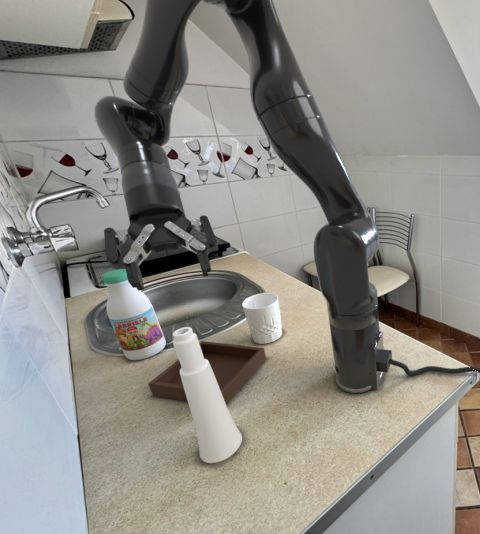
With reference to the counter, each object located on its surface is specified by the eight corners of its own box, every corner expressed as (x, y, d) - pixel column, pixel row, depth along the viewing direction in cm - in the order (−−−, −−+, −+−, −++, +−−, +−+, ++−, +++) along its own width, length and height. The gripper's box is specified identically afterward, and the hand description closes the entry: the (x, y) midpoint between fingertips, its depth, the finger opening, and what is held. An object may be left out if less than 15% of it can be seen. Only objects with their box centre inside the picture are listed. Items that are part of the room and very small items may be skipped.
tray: (266, 359, 71) (263, 347, 70) (224, 407, 59) (220, 394, 58) (205, 352, 74) (202, 340, 73) (153, 396, 62) (147, 383, 61)
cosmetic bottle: (208, 433, 54) (167, 321, 45) (246, 427, 55) (214, 316, 46) (193, 467, 48) (145, 347, 40) (236, 459, 50) (198, 341, 41)
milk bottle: (123, 350, 75) (89, 272, 67) (163, 336, 80) (135, 262, 72) (128, 366, 70) (91, 283, 62) (170, 350, 75) (141, 272, 67)
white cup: (273, 347, 75) (265, 310, 71) (243, 343, 77) (234, 307, 73) (290, 328, 82) (284, 294, 79) (263, 325, 84) (255, 291, 80)
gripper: (87, 186, 48) (105, 283, 43) (198, 178, 55) (223, 260, 51) (106, 215, 54) (124, 302, 49) (204, 203, 61) (226, 279, 57)
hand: (174, 281), depth 50 cm, fingers open, 8 cm apart
